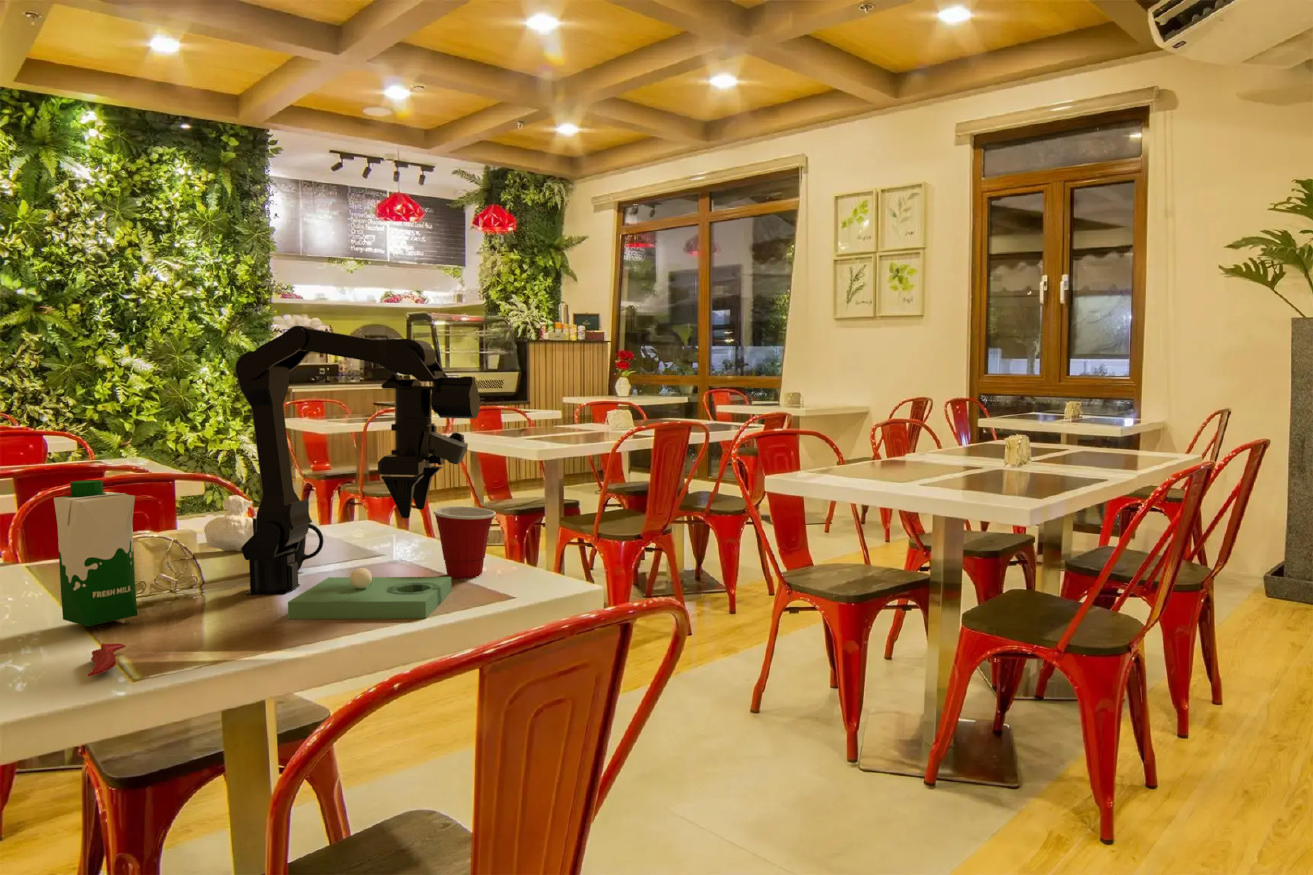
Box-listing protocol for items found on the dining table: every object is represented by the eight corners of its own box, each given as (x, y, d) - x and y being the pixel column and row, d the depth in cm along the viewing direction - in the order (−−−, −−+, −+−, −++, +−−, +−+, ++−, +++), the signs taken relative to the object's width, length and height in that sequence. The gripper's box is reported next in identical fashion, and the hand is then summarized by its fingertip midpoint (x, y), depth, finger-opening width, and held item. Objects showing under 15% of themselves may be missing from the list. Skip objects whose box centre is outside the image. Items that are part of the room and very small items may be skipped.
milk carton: (115, 607, 136) (109, 477, 135) (147, 615, 132) (142, 480, 130) (52, 620, 129) (45, 483, 128) (84, 629, 124) (77, 487, 123)
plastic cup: (491, 583, 151) (489, 513, 150) (427, 584, 151) (425, 514, 150) (502, 570, 162) (501, 504, 161) (442, 570, 162) (441, 504, 161)
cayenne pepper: (107, 647, 117) (106, 633, 117) (144, 645, 118) (143, 631, 118) (59, 677, 106) (58, 662, 105) (101, 675, 106) (100, 659, 106)
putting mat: (288, 618, 129) (287, 601, 129) (329, 592, 145) (328, 577, 145) (425, 618, 129) (425, 601, 129) (451, 591, 145) (451, 576, 145)
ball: (347, 591, 135) (346, 570, 135) (354, 586, 139) (353, 565, 138) (368, 591, 135) (367, 570, 135) (374, 586, 139) (374, 565, 138)
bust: (194, 554, 178) (192, 498, 177) (213, 547, 185) (211, 493, 185) (255, 553, 178) (253, 497, 177) (271, 546, 186) (269, 493, 185)
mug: (247, 576, 157) (245, 519, 157) (263, 566, 166) (261, 512, 165) (317, 574, 159) (315, 518, 158) (330, 564, 168) (328, 510, 167)
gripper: (450, 421, 134) (450, 523, 135) (474, 415, 153) (474, 506, 154) (376, 420, 134) (376, 522, 135) (409, 414, 153) (409, 505, 154)
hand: (413, 513), depth 144 cm, fingers open, 9 cm apart
